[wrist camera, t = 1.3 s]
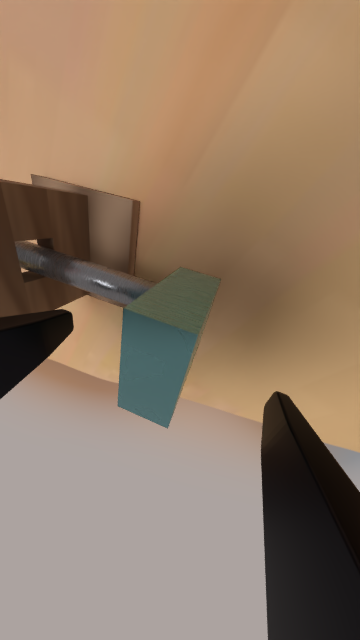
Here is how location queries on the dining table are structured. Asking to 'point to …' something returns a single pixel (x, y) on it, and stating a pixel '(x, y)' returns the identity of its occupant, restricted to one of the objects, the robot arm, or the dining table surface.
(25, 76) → the dining table surface
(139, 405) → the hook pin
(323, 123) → the dining table surface
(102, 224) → the eye block
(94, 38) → the dining table surface
